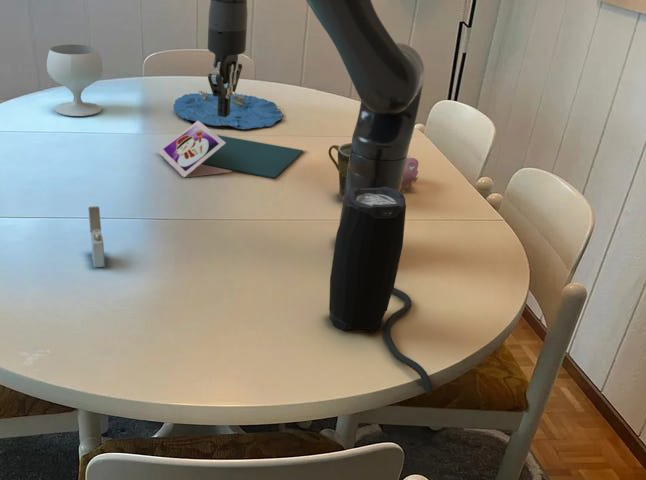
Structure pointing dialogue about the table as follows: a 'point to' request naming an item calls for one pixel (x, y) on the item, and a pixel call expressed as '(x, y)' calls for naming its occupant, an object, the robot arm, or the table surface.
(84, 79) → the chalice
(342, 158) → the ceramic cup
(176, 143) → the greeting card
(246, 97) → the decorative plate
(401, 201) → the portable speaker
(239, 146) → the placemat
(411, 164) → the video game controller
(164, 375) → the table surface
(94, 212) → the lighter
